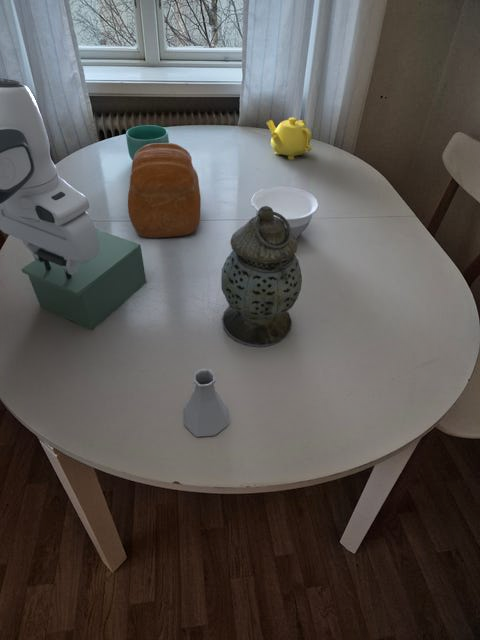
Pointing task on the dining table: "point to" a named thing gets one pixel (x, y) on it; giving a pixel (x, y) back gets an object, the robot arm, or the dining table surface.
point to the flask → (205, 407)
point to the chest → (94, 293)
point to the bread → (163, 191)
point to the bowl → (288, 205)
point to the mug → (145, 137)
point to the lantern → (261, 280)
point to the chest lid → (88, 273)
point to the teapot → (290, 137)
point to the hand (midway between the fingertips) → (56, 265)
